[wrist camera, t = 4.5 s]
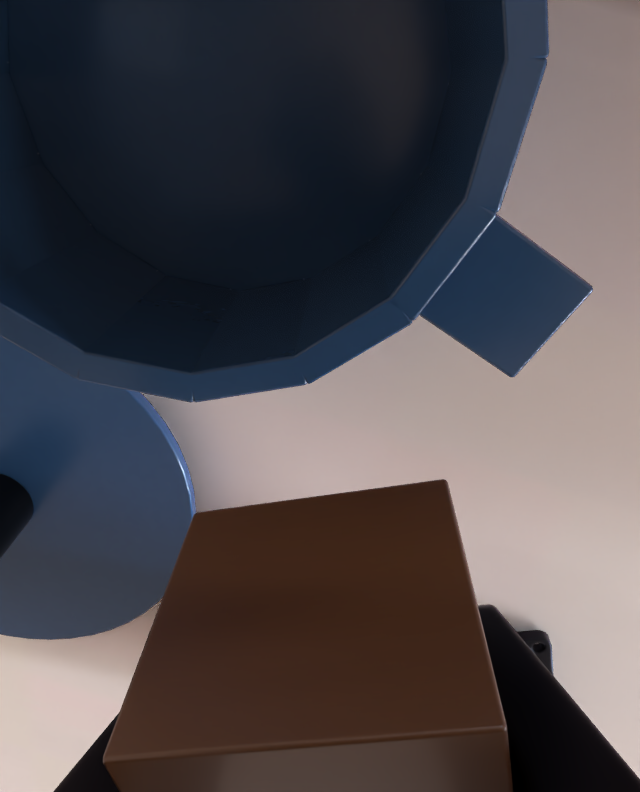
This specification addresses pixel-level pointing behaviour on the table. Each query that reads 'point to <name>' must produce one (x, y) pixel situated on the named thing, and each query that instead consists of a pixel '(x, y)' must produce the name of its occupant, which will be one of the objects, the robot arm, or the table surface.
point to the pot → (266, 186)
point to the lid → (83, 502)
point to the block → (317, 655)
